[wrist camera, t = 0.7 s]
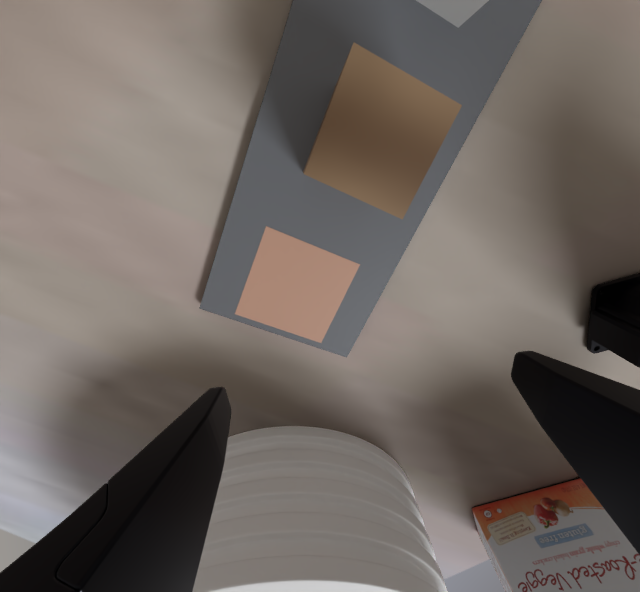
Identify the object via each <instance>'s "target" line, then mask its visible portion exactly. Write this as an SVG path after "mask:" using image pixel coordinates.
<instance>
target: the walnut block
mask: <svg viewBox="0 0 640 592" xmlns="http://www.w3.org/2000/svg"><path fill="white" fill-rule="evenodd" d="M461 106H462V105H461V104H459V103H457V102H456V101H454V100H452V99H450V98H449V97H447V96H445V95H444V94H442V93H440V92H438V91H437V90H435V89H433V88H432V87H430V86H428V85H426V84H425V83H423V82H421V81H420V80H418V79H416V78H414V77H413V76H411V75H409V74H408V73H406V72H404V71H402V70H401V69H399V68H397V67H396V66H394V65H392V64H390V63H389V62H387V61H385V60H384V59H382V58H380V57H378V56H377V55H375V54H373V53H372V52H370V51H368V50H366V49H365V48H363V47H361V46H360V45H358V44H356V43H353V45H352V48H351V50H350V52H349V55H348V57H347V59H346V62H345V64H344V67H343V69H342V71H341V74H340V76H339V79H338V81H337V83H336V86H335V89H334V91H333V94H332V97H331V99H330V102H329V104H328V107H327V110H326V112H325V115H324V118H323V120H322V123H321V126H320V128H319V131H318V134H317V136H316V139H315V142H314V144H313V147H312V150H311V152H310V155H309V158H308V160H307V163H306V165H305V168H304V171H303V173H304V174H305V175H307V176H309V177H311V178H313V179H316V180H318V181H320V182H322V183H324V184H326V185H329V186H331V187H333V188H335V189H337V190H339V191H342V192H344V193H346V194H348V195H350V196H353V197H355V198H357V199H359V200H361V201H363V202H366V203H368V204H370V205H372V206H374V207H376V208H379V209H381V210H383V211H385V212H387V213H389V214H392V215H394V216H396V217H398V218H400V219H403V218H404V216H405V214H406V212H407V210H408V208H409V206H410V204H411V202H412V200H413V198H414V196H415V195H416V193H417V191H418V189H419V187H420V185H421V183H422V181H423V179H424V177H425V175H426V174H427V172H428V170H429V168H430V166H431V164H432V162H433V160H434V158H435V156H436V154H437V152H438V151H439V149H440V147H441V145H442V143H443V141H444V139H445V137H446V135H447V133H448V131H449V129H450V128H451V126H452V124H453V122H454V120H455V118H456V116H457V114H458V112H459V110H460V108H461Z"/></svg>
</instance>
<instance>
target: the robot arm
mask: <svg viewBox="0 0 640 592" xmlns="http://www.w3.org/2000/svg"><path fill="white" fill-rule="evenodd" d="M587 349H588V350H589V351H590V352H592V353H599V352H602V351H606V350H610V351H612V352H613V353H615V354H617V355H619V356H620V357H622V358H624V359H625V360H627V361H629V362H630V363H632V364H634V365H635V366H637V367H640V273H638V274H634V275H631V276H627V277H624V278H620V279H617V280H613V281H610V282H606V283H602V284H599V285H597V286H595V287H594V288H593V290H592V297H591V308H590V319H589V330H588V341H587ZM511 377H512V380H513V382H514V384H515V386H516V387H517V389H518V390H519V392H520V394H521V395H522V397H523V398H524V400H525V402H526V403H527V405H528V406H529V408H530V410H531V411H532V413H533V414H534V416H535V418H536V419H537V421H538V422H539V424H540V425H541V427H542V428H543V429H544V431H545V432H546V433H547V435H548V436H549V437H550V439H551V440H552V441H553V443H554V444H555V445H556V447H557V448H558V449H559V450H560V452H561V453H562V454H563V456H564V457H565V458H566V460H567V461H568V462H569V464H570V465H571V466H572V467H573V469H574V470H575V471H576V473H577V474H578V475H579V477H580V478H581V479H582V481H583V482H584V483H585V484H586V486H587V487H588V488H589V490H590V491H591V492H592V494H593V495H594V496H595V498H596V499H597V500H598V501H599V503H600V504H601V505H602V507H603V508H604V509H605V511H606V512H607V513H608V515H609V516H610V517H611V518H612V520H613V521H614V522H615V524H616V525H617V526H618V528H619V529H620V530H621V532H622V533H623V534H624V535H625V537H626V538H627V539H628V541H629V542H630V543H631V545H632V546H633V547H634V549H635V550H636V551H637V552H638V554H639V555H640V390H638V389H635V388H633V387H630V386H627V385H624V384H622V383H619V382H616V381H613V380H611V379H608V378H605V377H602V376H599V375H597V374H594V373H591V372H588V371H586V370H583V369H580V368H577V367H575V366H572V365H569V364H566V363H564V362H561V361H558V360H555V359H553V358H550V357H547V356H544V355H542V354H539V353H536V352H533V351H523V352H518V353H516V354H515V357H514V362H513V367H512V372H511ZM230 419H231V407H230V403H229V400H228V396H227V393H226V390H225V388H224V387H216V388H210V389H209V390H208V391H207V392H205V393H204V394H203V395H202V396H201V397H200V398H199V399H198V400H197V401H196V402H194V403H193V404H192V405H191V406H190V407H189V408H188V409H187V410H186V411H185V412H183V413H182V414H181V415H180V416H179V417H178V418H177V419H176V420H175V421H174V422H172V423H171V424H170V425H169V426H168V427H167V428H166V429H165V430H164V431H163V432H161V433H160V434H159V435H158V436H157V437H156V438H155V439H154V440H153V441H152V442H150V443H149V444H148V445H147V446H146V447H145V448H144V449H143V450H142V451H141V452H139V453H138V454H137V455H136V456H135V457H134V458H133V459H132V460H131V461H130V462H129V463H127V464H126V465H125V466H124V467H123V468H122V469H121V470H120V471H119V472H118V473H116V474H115V475H114V476H113V477H112V478H111V479H110V480H109V481H108V484H104V485H103V486H102V487H101V488H100V489H99V490H98V491H96V492H95V493H94V494H93V495H92V496H91V497H90V498H89V499H88V500H86V501H85V502H84V503H83V504H82V505H81V506H80V507H79V508H77V509H76V510H75V511H74V512H73V513H72V514H71V515H69V516H68V517H67V518H66V519H65V520H64V521H62V522H61V523H60V524H59V525H58V526H57V527H55V528H54V529H53V530H52V531H51V532H49V533H48V534H47V535H46V536H45V537H43V538H42V539H41V540H40V541H39V542H37V543H36V544H35V545H34V546H32V547H31V548H30V549H29V550H28V551H26V552H25V553H24V554H23V555H21V556H20V557H19V558H18V559H17V560H15V561H14V562H13V563H12V564H10V565H9V566H8V567H7V568H6V569H4V570H3V571H2V572H1V573H0V592H192V591H193V587H194V583H195V579H196V575H197V571H198V567H199V563H200V559H201V555H202V551H203V547H204V543H205V539H206V535H207V531H208V527H209V523H210V519H211V515H212V511H213V507H214V503H215V499H216V495H217V491H218V487H219V483H220V479H221V475H222V471H223V467H224V461H225V455H226V448H227V440H228V433H229V426H230Z"/></svg>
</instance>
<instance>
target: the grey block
mask: <svg viewBox="0 0 640 592" xmlns="http://www.w3.org/2000/svg"><path fill="white" fill-rule="evenodd" d="M416 1H418V2H419V3H421V4H422V5H424V6H425V7H427V8H428V9H430V10H431V11H433V12H435V13H436V14H438V15H439V16H441V17H442V18H444V19H445V20H447V21H448V22H450V23H452V24H453V25H455V26H456V27H458V28H459V27H460V26H461V25H462V24H463V23H464V22H465V21H466V20H468V19H469V18H470V17H471V16H472V15H473V14H474V13H475V12H477V11H478V10H479V9H480V8H481V7H482V6H483V5H484V4H485V3H487V2H488V1H489V0H416Z"/></svg>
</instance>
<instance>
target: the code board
mask: <svg viewBox="0 0 640 592" xmlns="http://www.w3.org/2000/svg"><path fill="white" fill-rule="evenodd" d="M541 1H542V0H489V1H488V2H487V3H485V4H484V5H483V6H482V7H481V8H480V9H479V10H478V11H477V12H475V13H474V14H473V15H472V16H471V17H470V18H469V19H468V20H466V21H465V22H464V23H463V24H462V25H461V26H460V27H459V28H458V27H456V26H455V25H453V24H452V23H450V22H448V21H447V20H445V19H444V18H442V17H441V16H439V15H438V14H436V13H435V12H433V11H431V10H430V9H428V8H427V7H425V6H424V5H422V4H421V3H419V2H418V1H416V0H293V3H292V6H291V9H290V13H289V16H288V19H287V22H286V26H285V29H284V32H283V36H282V39H281V42H280V45H279V49H278V52H277V55H276V59H275V62H274V65H273V68H272V72H271V75H270V78H269V82H268V85H267V88H266V91H265V95H264V98H263V101H262V105H261V108H260V111H259V114H258V118H257V121H256V124H255V128H254V131H253V134H252V137H251V141H250V144H249V147H248V151H247V154H246V157H245V160H244V164H243V167H242V170H241V174H240V177H239V180H238V183H237V187H236V190H235V193H234V197H233V200H232V203H231V206H230V210H229V213H228V216H227V220H226V223H225V226H224V229H223V233H222V236H221V239H220V243H219V246H218V249H217V252H216V256H215V259H214V262H213V266H212V269H211V272H210V275H209V279H208V282H207V285H206V288H205V292H204V295H203V298H202V302H201V305H200V309H203V310H206V311H209V312H212V313H215V314H218V315H221V316H224V317H227V318H230V319H233V320H236V321H239V322H242V323H245V324H248V325H251V326H254V327H257V328H260V329H263V330H266V331H269V332H272V333H275V334H278V335H281V336H284V337H287V338H290V339H293V340H296V341H299V342H302V343H305V344H308V345H311V346H314V347H317V348H320V349H323V350H326V351H329V352H332V353H335V354H338V355H341V356H344V357H347V356H348V354H349V352H350V351H351V349H352V347H353V345H354V343H355V341H356V340H357V338H358V336H359V334H360V332H361V330H362V329H363V327H364V325H365V323H366V321H367V319H368V318H369V316H370V314H371V312H372V310H373V308H374V307H375V305H376V303H377V301H378V299H379V297H380V296H381V294H382V292H383V290H384V288H385V286H386V285H387V283H388V281H389V279H390V277H391V275H392V274H393V272H394V270H395V268H396V266H397V265H398V263H399V261H400V259H401V257H402V255H403V254H404V252H405V250H406V248H407V246H408V244H409V243H410V241H411V239H412V237H413V235H414V233H415V232H416V230H417V228H418V226H419V224H420V222H421V221H422V219H423V217H424V215H425V213H426V211H427V210H428V208H429V206H430V204H431V202H432V200H433V199H434V197H435V195H436V193H437V191H438V189H439V188H440V186H441V184H442V182H443V180H444V179H445V177H446V175H447V173H448V171H449V169H450V168H451V166H452V164H453V162H454V160H455V158H456V157H457V155H458V153H459V151H460V149H461V147H462V146H463V144H464V142H465V140H466V138H467V136H468V135H469V133H470V131H471V129H472V127H473V125H474V124H475V122H476V120H477V118H478V116H479V114H480V113H481V111H482V109H483V107H484V105H485V104H486V102H487V100H488V98H489V96H490V94H491V93H492V91H493V89H494V87H495V85H496V83H497V82H498V80H499V78H500V76H501V74H502V72H503V71H504V69H505V67H506V65H507V63H508V61H509V60H510V58H511V56H512V54H513V52H514V50H515V49H516V47H517V45H518V43H519V41H520V39H521V38H522V36H523V34H524V32H525V30H526V28H527V27H528V25H529V23H530V21H531V19H532V18H533V16H534V14H535V12H536V10H537V8H538V7H539V5H540V3H541ZM353 43H356V44H358V45H360V46H361V47H363V48H365V49H366V50H368V51H370V52H372V53H373V54H375V55H377V56H378V57H380V58H382V59H384V60H385V61H387V62H389V63H390V64H392V65H394V66H396V67H397V68H399V69H401V70H402V71H404V72H406V73H408V74H409V75H411V76H413V77H414V78H416V79H418V80H420V81H421V82H423V83H425V84H426V85H428V86H430V87H432V88H433V89H435V90H437V91H438V92H440V93H442V94H444V95H445V96H447V97H449V98H450V99H452V100H454V101H456V102H457V103H459V104H461V105H462V106H461V108H460V110H459V112H458V114H457V116H456V118H455V120H454V122H453V124H452V126H451V128H450V129H449V131H448V133H447V135H446V137H445V139H444V141H443V143H442V145H441V147H440V149H439V151H438V152H437V154H436V156H435V158H434V160H433V162H432V164H431V166H430V168H429V170H428V172H427V174H426V175H425V177H424V179H423V181H422V183H421V185H420V187H419V189H418V191H417V193H416V195H415V196H414V198H413V200H412V202H411V204H410V206H409V208H408V210H407V212H406V214H405V216H404V218H403V219H400V218H398V217H396V216H394V215H392V214H389V213H387V212H385V211H383V210H381V209H379V208H376V207H374V206H372V205H370V204H368V203H366V202H363V201H361V200H359V199H357V198H355V197H353V196H350V195H348V194H346V193H344V192H342V191H339V190H337V189H335V188H333V187H331V186H329V185H326V184H324V183H322V182H320V181H318V180H316V179H313V178H311V177H309V176H307V175H305V174H304V173H303V171H304V168H305V165H306V163H307V160H308V158H309V155H310V152H311V150H312V147H313V144H314V142H315V139H316V136H317V134H318V131H319V128H320V126H321V123H322V120H323V118H324V115H325V112H326V110H327V107H328V104H329V102H330V99H331V97H332V94H333V91H334V89H335V86H336V83H337V81H338V79H339V76H340V74H341V71H342V69H343V67H344V64H345V62H346V59H347V57H348V55H349V52H350V50H351V48H352V45H353Z"/></svg>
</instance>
